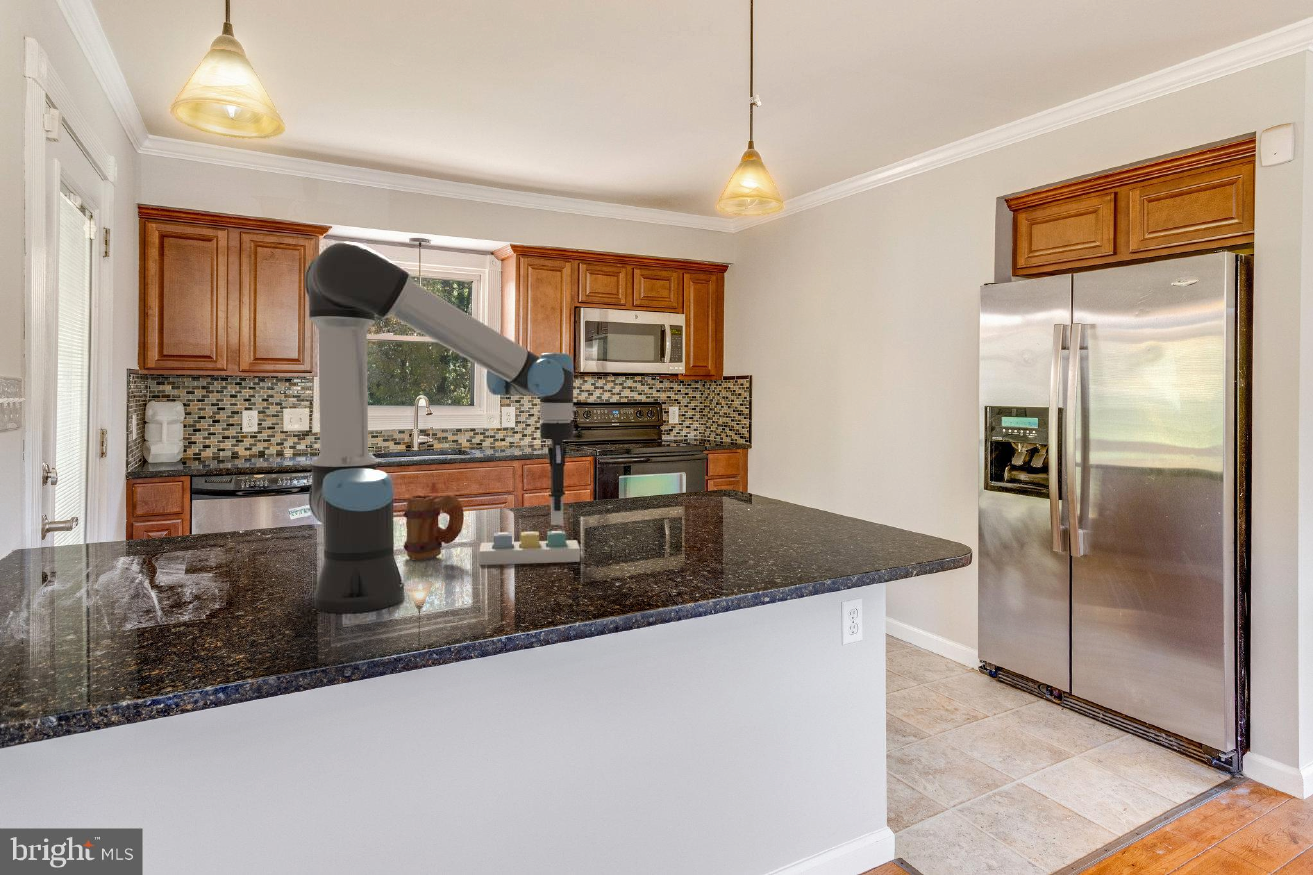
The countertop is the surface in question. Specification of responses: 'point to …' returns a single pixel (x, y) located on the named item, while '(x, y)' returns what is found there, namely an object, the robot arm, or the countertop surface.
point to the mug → (431, 524)
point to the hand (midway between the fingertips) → (557, 524)
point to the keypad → (529, 554)
